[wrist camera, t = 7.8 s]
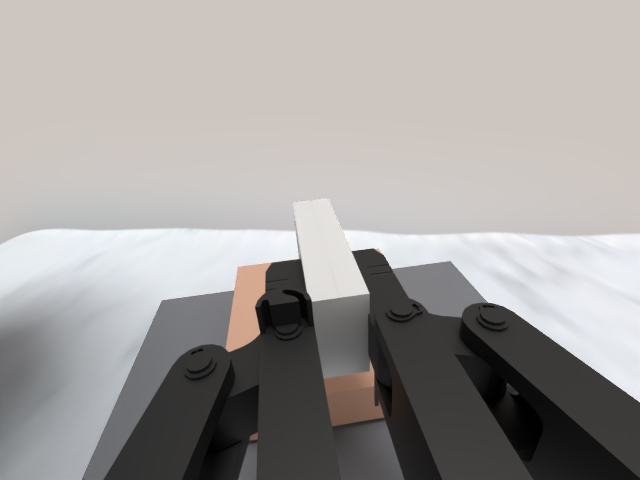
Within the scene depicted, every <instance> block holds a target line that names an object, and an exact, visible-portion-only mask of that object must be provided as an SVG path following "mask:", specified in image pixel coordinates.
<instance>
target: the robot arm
mask: <svg viewBox="0 0 640 480" xmlns="http://www.w3.org/2000/svg"><path fill="white" fill-rule="evenodd" d="M293 211H294V219H295V228H296V236H297V245H298V253H299V259H297V260H290V261H282V262H274V263H271V265H270V266H269V268H268V269H267V270H266V272H265V294H263V295H262V296H261V297H260V298H259V299H258V300H257V303H256V306H255V310H256V315H257V320H258V325H259V329H260V334H259V335H258V336H257V337H256V338H255V339H254V340H253V341H251V342H250V343H248V344H246V345H244V346H243V347H240V348H238V349H235V350H233V351H230V352H228V350H226V349H225V348H224V347H222V346H220V345H214V344H208V345H200V346H198V347H195V348H193V349H190V350H189V351H187V352H186V353H184V354H183V355H181V356H180V357H179V358H178V359H177V360H176V362H175V363H174V364H173V365H172V367H171V369H170V370H169V372H168V374H167V375H166V377H165V378H164V380H163V382H162V383H161V385H160V387H159V388H158V390H157V392H156V393H155V395H154V397H153V398H152V400H151V402H150V403H149V405H148V407H147V408H146V410H145V412H144V413H143V415H142V417H141V418H140V420H139V421H138V423H137V425H136V426H135V428H134V430H133V431H132V433H131V435H130V436H129V438H128V440H127V441H126V443H125V445H124V446H123V448H122V450H121V451H120V453H119V455H118V456H117V458H116V460H115V461H114V463H113V465H112V466H111V468H110V469H109V471H108V473H107V474H106V476H105V478H104V479H103V480H238V478H239V475H240V471H241V468H242V464H243V461H244V458H245V454H246V451H247V447H248V444H249V440H250V436H251V435H253V434H255V433H257V432H258V439H257V475H256V480H341V476H340V470H339V465H338V459H337V453H336V447H335V442H334V436H333V430H332V424H331V419H330V413H329V407H328V401H327V396H326V390H325V384H324V378H330V377H336V376H343V375H349V374H355V373H361V372H368V371H370V361H371V364H372V367H373V370H374V402H375V406H379V402H380V405H381V408H382V412H383V415H384V418H385V421H386V424H387V427H388V430H389V433H390V437H391V440H392V443H393V446H394V449H395V452H396V455H397V459H398V462H399V465H400V468H401V471H402V474H403V477H404V480H640V402H638V401H637V400H635V399H634V398H633V397H631V396H630V395H629V394H627V393H626V392H624V391H623V390H622V389H620V388H619V387H617V386H616V385H615V384H613V383H612V382H610V381H609V380H608V379H606V378H605V377H603V376H602V375H601V374H599V373H598V372H596V371H595V370H594V369H592V368H591V367H589V366H588V365H587V364H585V363H584V362H582V361H581V360H580V359H578V358H577V357H575V356H574V355H573V354H571V353H570V352H568V351H567V350H566V349H564V348H563V347H561V346H560V345H559V344H557V343H556V342H554V341H553V340H552V339H550V338H549V337H547V336H546V335H545V334H543V333H542V332H540V331H539V330H538V329H536V328H535V327H534V326H532V325H531V324H529V323H528V322H527V321H525V320H524V319H522V318H521V317H520V316H518V315H517V314H515V313H514V312H512V311H510V310H509V309H507V308H505V307H503V306H499V305H496V304H493V303H475V304H471V305H469V306H468V307H466V308H465V309H464V311H463V313H462V317H451V316H440V315H434V314H431V313H428V311H427V309H426V308H425V307H424V306H423V305H422V304H421V303H419V302H417V301H415V300H413V299H410V298H409V297H408V296H407V294H406V292H405V291H404V289H403V287H402V286H401V284H400V282H399V280H398V279H397V277H396V275H395V274H394V273H393V270H392V269H391V267H390V266H389V263H388V262H387V260H386V258H385V257H384V255H383V254H381V253H380V252H378V251H376V250H375V249H366V250H358V251H351V249H350V247H349V245H348V242H347V240H346V238H345V235H344V233H343V231H342V228H341V226H340V224H339V221H338V219H337V217H336V215H335V213H334V210H333V207H332V205H331V203H330V201H329V199H328V198H326V199H319V200H310V201H301V202H293Z"/></svg>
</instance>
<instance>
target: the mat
mask: <svg viewBox="0 0 640 480" xmlns="http://www.w3.org/2000/svg"><path fill="white" fill-rule="evenodd" d="M392 270H393V273H394V274H395V275H396V277H397V279H398V280H399V282H400V284H401V286H402V287H403V289H404V291H405V292H406V294H407V296H408V297H409V298H410V299H413V300H415V301H417V302H419V303H421V304H422V305H423V306H424V307H425V308H426V309H427V311H428V313H431V314H434V315H440V316H451V317H462V313H463V311H464V309H465V308H466V307H468V306H469V305H471V304H475V303H488V302H487V301H486V300H485V299H484V298H483V297H482V296H481V295H480V294H479V292H478V291H477V290H476V289H475V288H474V287H473V286H472V285H471V284H470V283H469V281H468V280H467V279H466V278H465V277H464V276H463V275H462V274H461V273H460V271H459V270H458V269H457V268H456V267H455V266H454V265H453V264H452V263H451V261H448V262H441V263H433V264H426V265H419V266H411V267H404V268H397V269H392ZM233 297H234V291H228V292H221V293H213V294H206V295H199V296H191V297H184V298H176V299H169V300H162V302H161V304H160V306H159V308H158V311H157V313H156V315H155V317H154V319H153V322H152V324H151V326H150V328H149V331H148V333H147V335H146V337H145V340H144V342H143V344H142V346H141V349H140V351H139V353H138V355H137V357H136V360H135V362H134V364H133V366H132V369H131V371H130V373H129V375H128V378H127V380H126V382H125V384H124V387H123V389H122V391H121V393H120V395H119V398H118V400H117V402H116V404H115V407H114V409H113V411H112V413H111V416H110V418H109V420H108V422H107V425H106V427H105V429H104V431H103V433H102V436H101V438H100V440H99V442H98V445H97V447H96V449H95V451H94V454H93V456H92V458H91V460H90V463H89V465H88V467H87V469H86V471H85V474H84V476H83V478H82V480H103V479H104V478H105V476H106V474H107V473H108V471H109V469H110V468H111V466H112V465H113V463H114V461H115V460H116V458H117V456H118V455H119V453H120V451H121V450H122V448H123V446H124V445H125V443H126V441H127V440H128V438H129V436H130V435H131V433H132V431H133V430H134V428H135V426H136V425H137V423H138V421H139V420H140V418H141V417H142V415H143V413H144V412H145V410H146V408H147V407H148V405H149V403H150V402H151V400H152V398H153V397H154V395H155V393H156V392H157V390H158V388H159V387H160V385H161V383H162V382H163V380H164V378H165V377H166V375H167V374H168V372H169V370H170V369H171V367H172V365H173V364H174V363H175V362H176V360H177V359H178V358H179V357H180V356H181V355H183V354H184V353H186V352H187V351H189V350H190V349H193V348H195V347H198V346H200V345H208V344H214V345H220V346H222V347H224V348H225V349H226V343H227V336H228V330H229V323H230V317H231V310H232V303H233ZM332 430H333V436H334V442H335V447H336V453H337V459H338V465H339V470H340V476H341V480H404V477H403V474H402V471H401V468H400V465H399V462H398V459H397V455H396V452H395V449H394V446H393V443H392V440H391V437H390V433H389V430H388V427H387V424H386V421H385V418H378V419H372V420H366V421H361V422H355V423H349V424H343V425H337V426H332ZM256 475H257V439H256V440H250V441H249V444H248V447H247V451H246V454H245V458H244V461H243V464H242V468H241V471H240V475H239V478H238V480H256Z"/></svg>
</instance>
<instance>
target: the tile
mask: <svg viewBox="0 0 640 480" xmlns="http://www.w3.org/2000/svg"><path fill="white" fill-rule="evenodd" d="M375 250H376V251H378V252H380V250H379V249H375ZM380 253H381V252H380ZM296 260H297V259H296ZM288 261H290V260H288ZM281 262H282V261H281ZM273 263H274V262H273ZM270 265H271V263H265V264H258V265H250V266H242V267H238V270H237V277H236V284H235V290H234V297H233V303H232V310H231V317H230V323H229V330H228V336H227V343H226V350H228V352H230V351H233V350H235V349H238V348H240V347H243V346H244V345H246V344H248V343H250V342H251V341H253V340H254V339H255V338H256V337H257V336H258V335H259V334H260V329H259V325H258V320H257V315H256V310H255V306H256V303H257V300H258V299H259V298H260V297H261V296H262V295H263V294H265V272H266V270H267V269H268V268H269V266H270ZM324 384H325V390H326V396H327V401H328V407H329V413H330V419H331V424H332V426H337V425H343V424H349V423H355V422H361V421H366V420H372V419H378V418H384V415H383V412H382V408H381V405H380V402H379V406H375V402H374V370H373V367H372V364H371V361H370V371H368V372H361V373H355V374H349V375H343V376H336V377H330V378H324ZM256 439H258V432H257V433H255V434H253V435H251V436H250V440H256ZM250 440H249V441H250Z"/></svg>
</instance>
